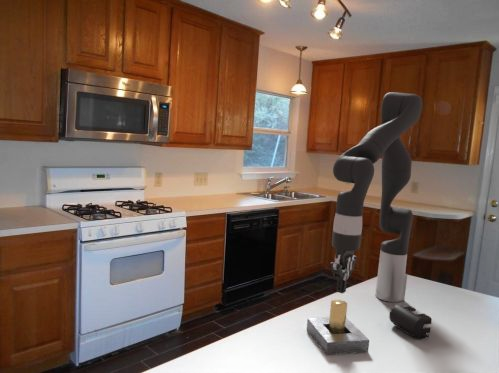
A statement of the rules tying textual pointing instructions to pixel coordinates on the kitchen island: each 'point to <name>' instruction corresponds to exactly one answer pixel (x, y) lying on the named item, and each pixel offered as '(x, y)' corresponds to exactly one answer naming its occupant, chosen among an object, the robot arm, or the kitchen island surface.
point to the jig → (337, 337)
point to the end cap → (410, 321)
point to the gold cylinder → (337, 317)
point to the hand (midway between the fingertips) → (340, 291)
